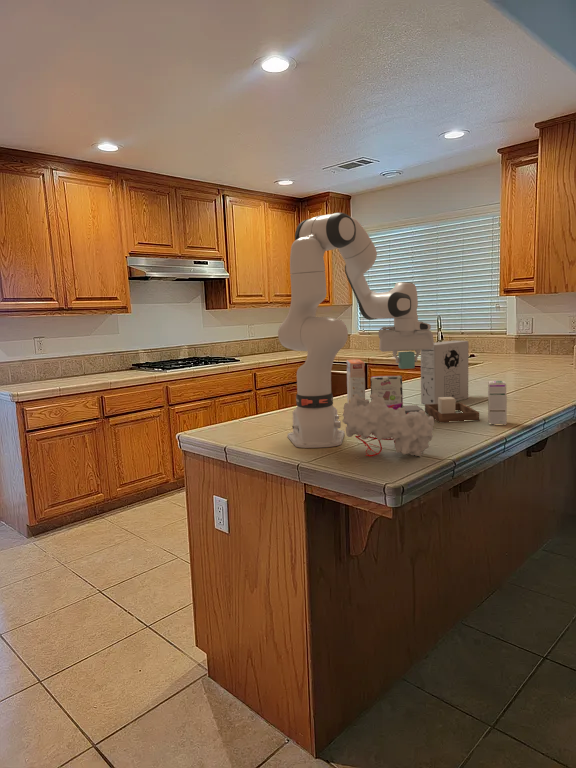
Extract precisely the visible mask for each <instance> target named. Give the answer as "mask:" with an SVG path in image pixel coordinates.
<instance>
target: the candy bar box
mask: <svg viewBox="0 0 576 768" xmlns="http://www.w3.org/2000/svg"><path fill="white" fill-rule="evenodd" d="M374 393H376V394H377V395H378V397H383V398H384V403H385V405H386V406H387V407H389V406H392V405H394V406H393V407H392V408H393V409H394V410H397V409H398V408H403V406H404V401H403V400H404V398H403V397H404V396H403V376H402V375H378V376H377V375H375V376H374V375H373V376H370V395H371V394H374ZM371 401H372V398H370V402H371ZM390 408H391V407H390Z"/></svg>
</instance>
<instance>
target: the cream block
mask: <svg viewBox="0 0 576 768" xmlns="http://www.w3.org/2000/svg"><path fill="white" fill-rule="evenodd" d="M455 403H456V401H455V399H454V398H453V397H438V412H440V413H441V414H444V413H456V411H455Z"/></svg>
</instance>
